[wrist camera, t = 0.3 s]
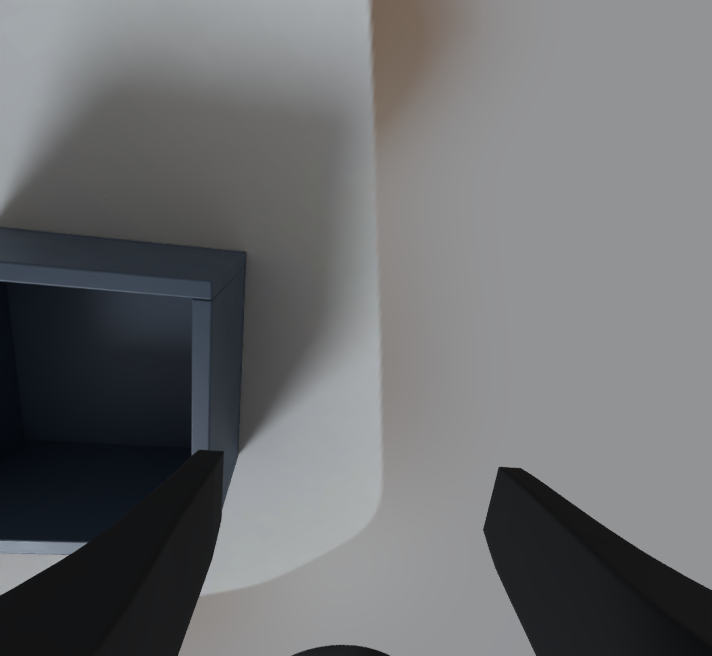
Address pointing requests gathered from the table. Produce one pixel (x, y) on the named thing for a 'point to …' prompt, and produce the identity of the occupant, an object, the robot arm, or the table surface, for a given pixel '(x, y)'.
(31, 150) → the table surface
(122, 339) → the bin
